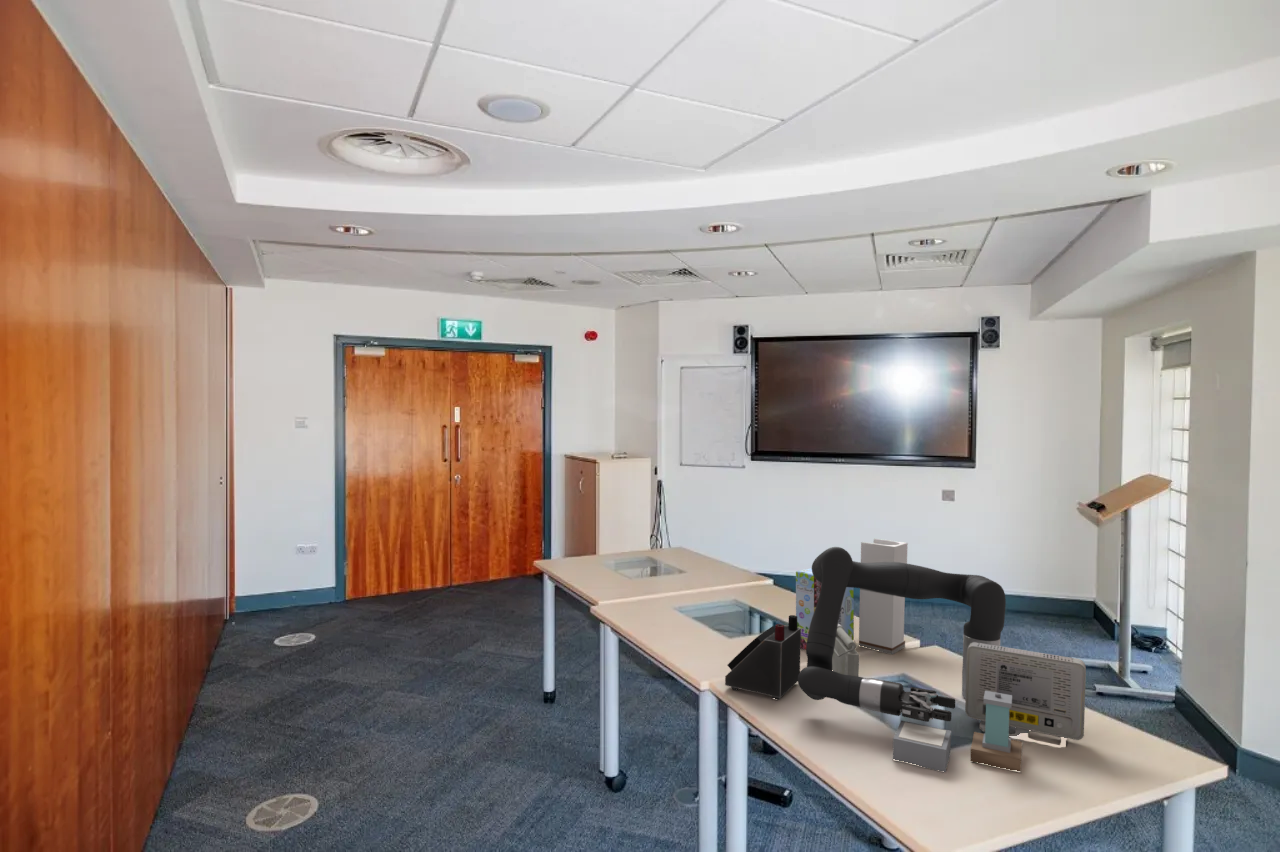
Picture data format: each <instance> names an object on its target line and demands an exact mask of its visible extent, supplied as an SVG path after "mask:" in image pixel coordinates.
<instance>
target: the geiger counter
mask: <svg viewBox="0 0 1280 852" xmlns="http://www.w3.org/2000/svg"><path fill="white" fill-rule="evenodd" d="M856 649H857V644H856V643H855V641H854V640H852V639H851V636H850V637H849V636H848V634H847V633H846V632H845V631H844V628H843V627H842V626H841V625H840V624H838V626H837V633H836V640H835V647H834V653H833V657H832V670H833V671H834V672H837V673H840V674H844V675H852V676H857V677H860V676H859V674H860V673H859V672H860V671H859V669H860V667H859V666H860V654H859V652H858V651H857V650H856Z"/></svg>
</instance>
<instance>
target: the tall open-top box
mask: <svg viewBox="0 0 1280 852" xmlns="http://www.w3.org/2000/svg"><path fill="white" fill-rule="evenodd" d="M908 544H909V543H908V542H903V541H896V540H889V539H881V538H873V543H872V542H865V541H862V542H860V563H876V562H900V563H907V564H908ZM905 601H906V598H905V597H899V596H895V595H890V594H885V593H880V592H875V591H871V590H866V589H861V588H859V613H858V614H859V619H858V620H859V622H858V646H859V645H860V646H864V647H867V648H871V649H875V650H879V651H878V652H879V653H883V654H888V655H893V654H894V655H895V654H896V653H897V652H899V651H900V650H902V649H904V648H905V647H906V641H905V638H904V637H905V607H906V606H905V605H906V604H905V603H906V602H905ZM867 648H866V649H867ZM871 649H870V650H871ZM875 650H874V651H875Z"/></svg>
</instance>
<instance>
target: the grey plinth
mask: <svg viewBox="0 0 1280 852" xmlns="http://www.w3.org/2000/svg"><path fill="white" fill-rule="evenodd" d="M951 750H952V730H949V729H944V728H941V727H940V728H938V727H934V726H930V725H925V724H920V723H915V722H910V721H907V720H900V722H899V725H898V727H897V729H896V731H895V733H894V735H893V738H892V760H893V759H895V760H899V761H904V762H908V763H912V764H916V765H919V766H922V767H921V768H923V767H925V768H924V769H927V768H930V769H929V770H932V769H934V770H933V771H936V770H939V771H938V772H940V771H944V772H946V773H947V769H946V768H948V765H947V764H949V761H950V757H951V754H952V753H951ZM919 766H918V767H919ZM944 772H943V773H944Z"/></svg>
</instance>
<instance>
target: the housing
mask: <svg viewBox="0 0 1280 852" xmlns="http://www.w3.org/2000/svg"><path fill="white" fill-rule="evenodd" d="M983 703H986V723H985V732H984V733H983V734H984V736H983V742H982V747H984V748H989V749H994V750H998V751H1003V752H1008V753H1010V748H1011V739H1012V738H1009V734H1010V732H1009V731H1010V728H1009V727H1010V726H1009V708H1011V707H1012V695H1007V694H1002V693H996V692H991V691H985V694H984V702H983Z"/></svg>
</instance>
